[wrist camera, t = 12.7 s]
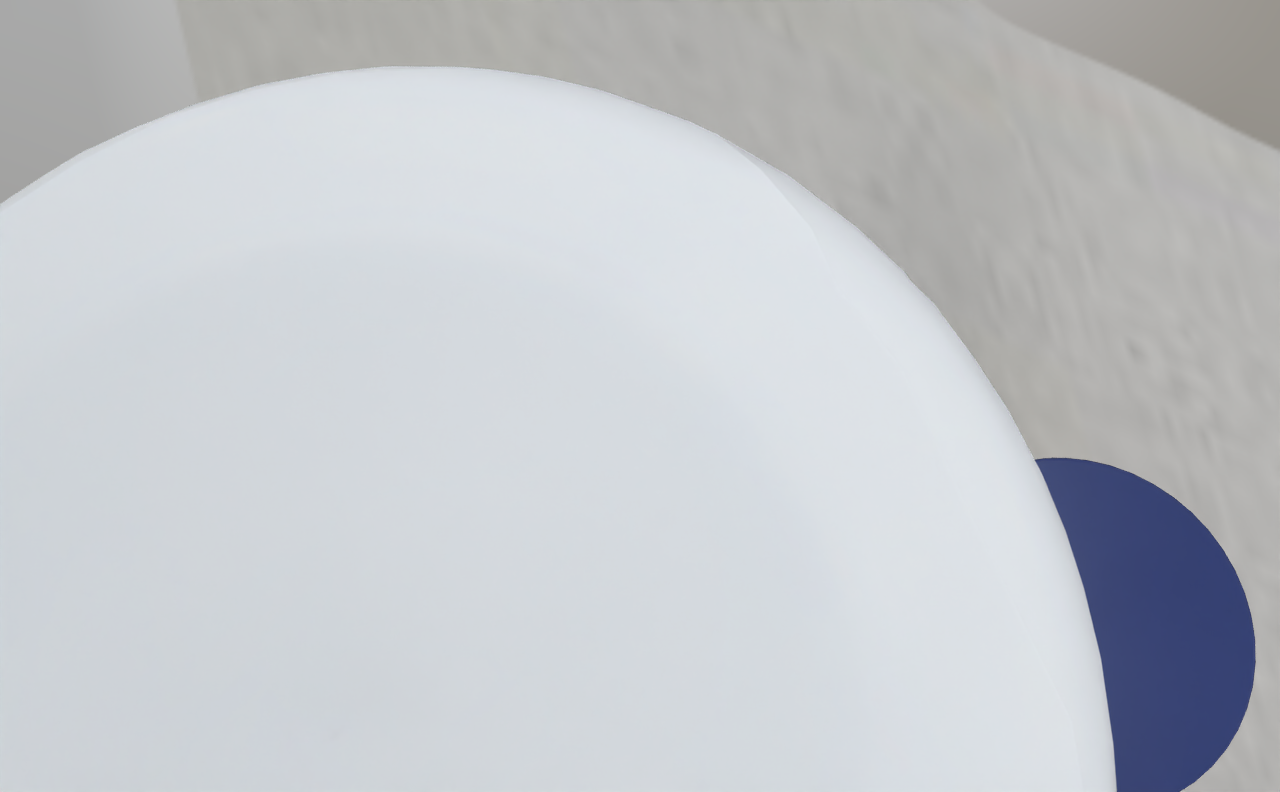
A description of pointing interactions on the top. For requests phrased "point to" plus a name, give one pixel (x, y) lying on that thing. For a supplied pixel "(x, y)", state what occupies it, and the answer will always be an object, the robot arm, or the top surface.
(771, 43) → the top surface
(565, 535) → the sprinkles bottle
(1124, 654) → the jar lid
